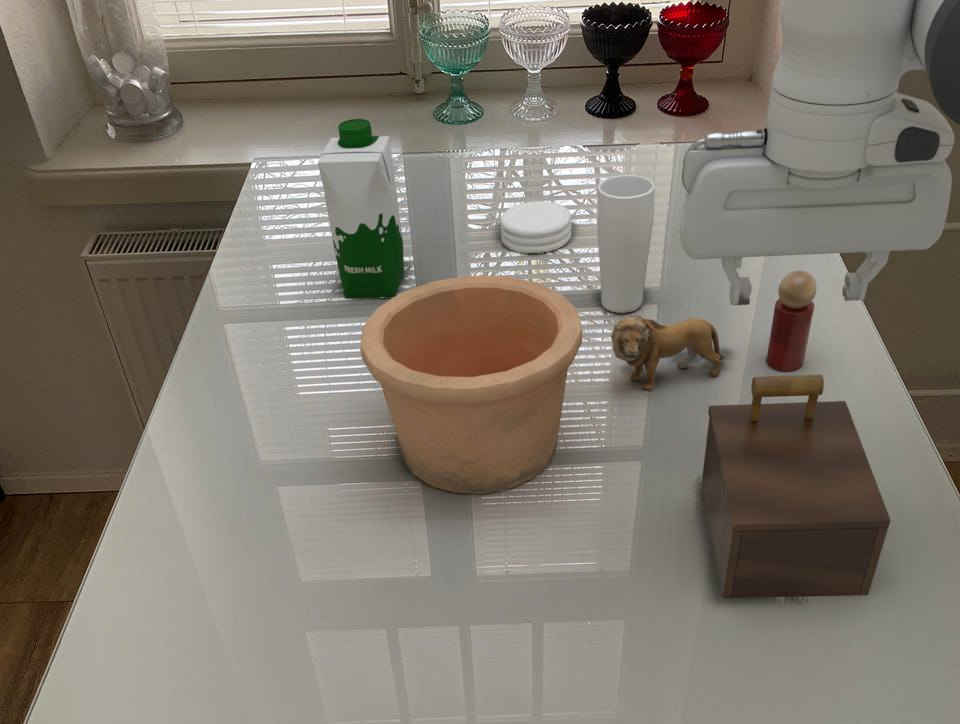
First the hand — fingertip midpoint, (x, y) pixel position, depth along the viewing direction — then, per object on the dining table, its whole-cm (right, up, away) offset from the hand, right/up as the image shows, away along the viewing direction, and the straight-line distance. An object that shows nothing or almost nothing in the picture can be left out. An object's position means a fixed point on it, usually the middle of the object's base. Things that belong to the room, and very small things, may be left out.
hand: (795, 299), depth 84 cm
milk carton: (-41, +19, +51) cm, 68 cm away
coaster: (-19, +28, +58) cm, 67 cm away
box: (+1, -20, +10) cm, 22 cm away
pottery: (-27, -8, +24) cm, 37 cm away
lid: (+1, -13, +4) cm, 14 cm away
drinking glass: (-9, +14, +43) cm, 46 cm away
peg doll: (+9, +4, +31) cm, 33 cm away
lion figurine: (-5, +1, +31) cm, 31 cm away
